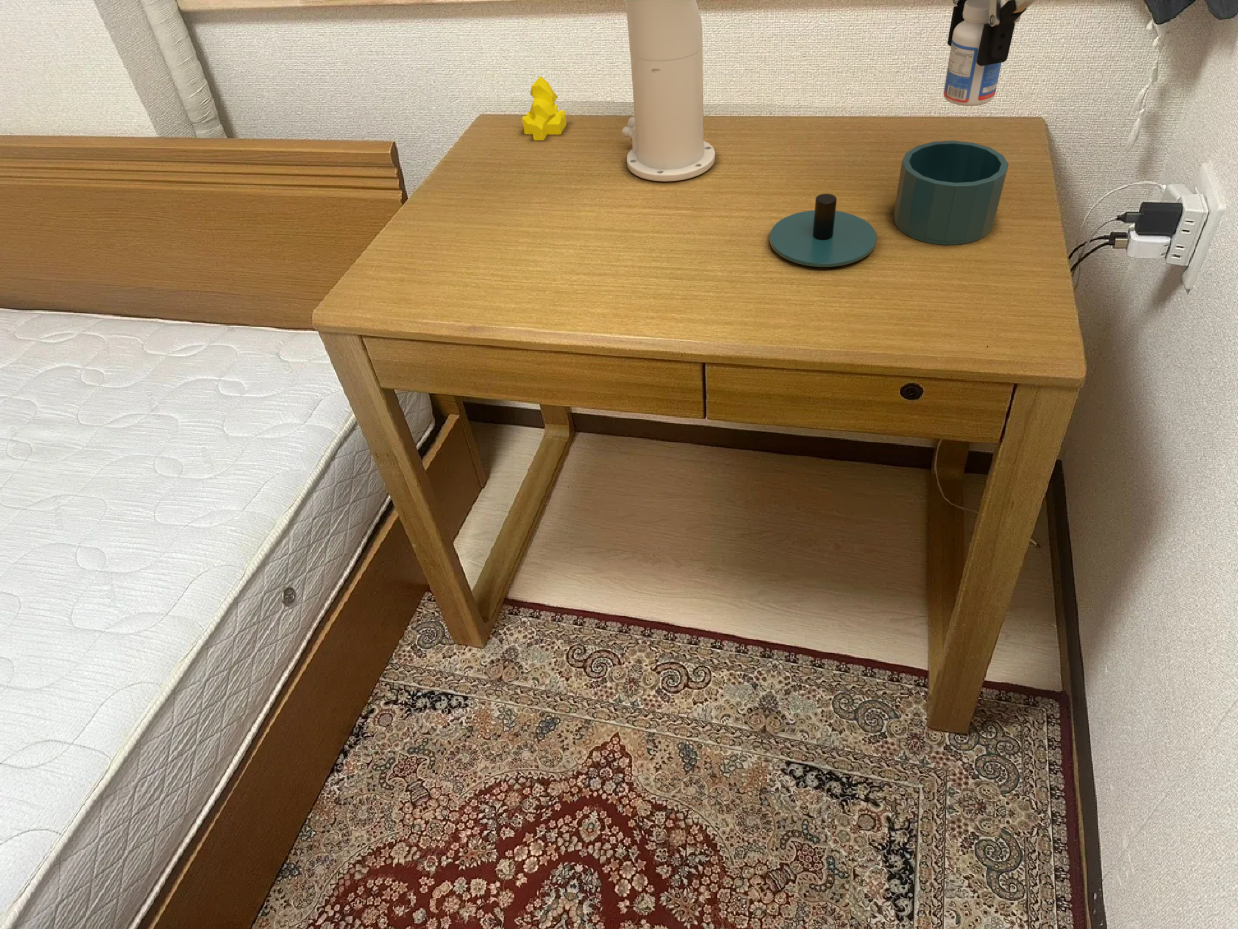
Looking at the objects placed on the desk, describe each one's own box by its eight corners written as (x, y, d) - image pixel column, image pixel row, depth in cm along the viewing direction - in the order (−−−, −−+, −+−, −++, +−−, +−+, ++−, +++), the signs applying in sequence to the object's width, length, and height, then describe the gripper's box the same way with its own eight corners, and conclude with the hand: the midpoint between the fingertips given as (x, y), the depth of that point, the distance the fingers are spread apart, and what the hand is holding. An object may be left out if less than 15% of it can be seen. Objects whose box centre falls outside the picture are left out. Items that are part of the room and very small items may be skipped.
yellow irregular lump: (520, 139, 132) (512, 88, 127) (535, 118, 138) (527, 68, 132) (556, 140, 131) (549, 88, 125) (569, 118, 136) (563, 68, 131)
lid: (747, 246, 104) (749, 202, 100) (813, 207, 110) (817, 163, 106) (831, 283, 97) (836, 237, 93) (897, 239, 103) (904, 194, 99)
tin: (874, 223, 106) (882, 165, 100) (928, 189, 111) (939, 132, 106) (958, 255, 99) (971, 195, 94) (1011, 217, 104) (1027, 158, 99)
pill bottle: (988, 86, 96) (1008, -9, 89) (998, 106, 92) (1020, 8, 86) (938, 89, 97) (954, -5, 90) (946, 108, 93) (964, 11, 86)
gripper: (934, -161, 85) (906, 34, 97) (1030, -131, 72) (984, 87, 85) (1005, -171, 85) (968, 23, 98) (1111, -143, 73) (1054, 75, 86)
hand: (976, 51), depth 91 cm, fingers closed on pill bottle, 5 cm apart
